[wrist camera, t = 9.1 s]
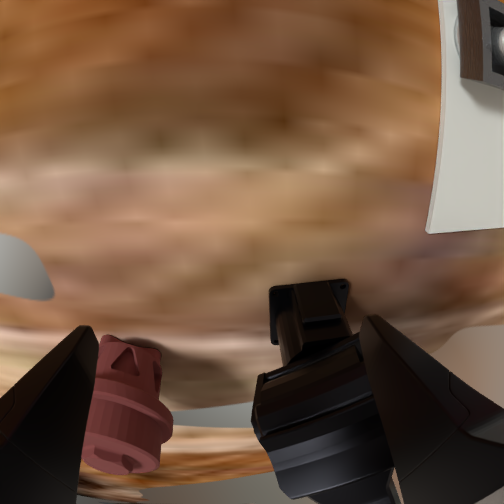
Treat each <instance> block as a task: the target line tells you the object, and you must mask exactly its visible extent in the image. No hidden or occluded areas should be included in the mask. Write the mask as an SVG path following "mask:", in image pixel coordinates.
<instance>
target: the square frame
mask: <svg viewBox="0 0 504 504" xmlns="http://www.w3.org/2000/svg"><path fill="white" fill-rule="evenodd" d="M456 1H457V11H458V23H459V40H460V78H464V79H468V80H472V81H475V82H478V83H482V84H485V85H488V86H492V87H495V88H498V89H501V90H504V76H503V75H500V74H498V73H495V72H492V45H491V28H490V19H492V20H494V21H496V22H498V23H500V24H502V25H504V4H503V3H502V2H500V1H498V0H456Z"/></svg>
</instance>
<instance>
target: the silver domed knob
mask: <svg viewBox="0 0 504 504" xmlns="http://www.w3.org/2000/svg"><path fill="white" fill-rule="evenodd" d="M490 28H491V45H492V72H495V73H498V74H500V75H503V76H504V25H502V24H500V23H498V22H496V21H494V20H492V19H490ZM454 42H455V46H456V50H457V53H458V56H459V58H460V40H459V23H458V15H457V17H456V20H455V23H454Z"/></svg>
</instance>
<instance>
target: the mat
mask: <svg viewBox="0 0 504 504" xmlns="http://www.w3.org/2000/svg"><path fill="white" fill-rule="evenodd" d="M438 6H439V17H440V31H441V53H442V91H441V114H440V129H439V141H438V151H437V160H436V168H435V175H434V182H433V189H432V195H431V201H430V207H429V213H428V218H427V223H426V228H425V231H426V232H427V233H428V234H433V233H445V232H456V231H468V230H480V229H491V228H503V227H504V90H501V89H498V88H495V87H492V86H488V85H485V84H482V83H478V82H475V81H472V80H468V79H464V78H460V58H459V56H458V53H457V50H456V46H455V42H454V23H455V20H456V17H457V15H458V11H457V1H456V0H438Z"/></svg>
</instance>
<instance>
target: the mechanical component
mask: <svg viewBox="0 0 504 504" xmlns="http://www.w3.org/2000/svg"><path fill="white" fill-rule="evenodd" d="M160 359H161V353H160V352H159V351H158V350H156V349H154V348H143V347H137V346H133V345H130V344H127V343H124V342H122V341H120V340H118V339H116V338H115V337H113V336H110V335H104V336H103V337H102V338H101V341H100V344H99V353H98V361H97V369H96V377H95V385H94V391H93V396H92V401H91V405H90V410H89V415H88V421H87V426H86V432H85V437H84V443H83V450H82V456H81V458H82V459H83V460H84V462H85V463H86V464H87V465H89V466H91V467H93V468H95V469H97V470H100V471H102V472H106V473H110V474H115V475H127V474H129V473H145V472H150V471H154V470H156V469H157V468H158V467H159V464H160V453H161V444H163V443H165V442H167V441H168V440H169V439H170V438H171V436H172V432H173V416H172V414H171V412H170V411H169V410H168V408H167V407H166V406H165V405H164V404H163V403H161V402H160V401H159V392H160V385H161V378H162V368H161V366H160Z"/></svg>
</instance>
